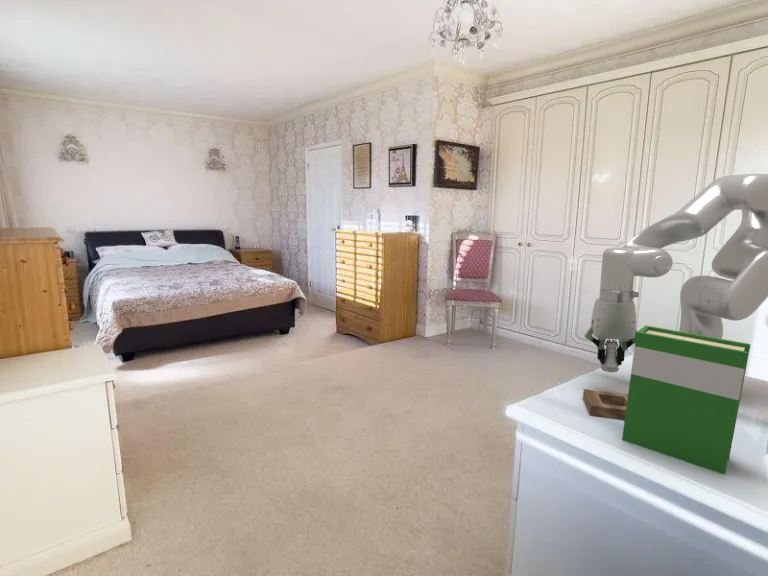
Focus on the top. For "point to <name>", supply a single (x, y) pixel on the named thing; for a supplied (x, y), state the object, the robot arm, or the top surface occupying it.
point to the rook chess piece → (610, 357)
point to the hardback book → (685, 395)
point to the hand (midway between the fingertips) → (610, 362)
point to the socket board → (605, 404)
